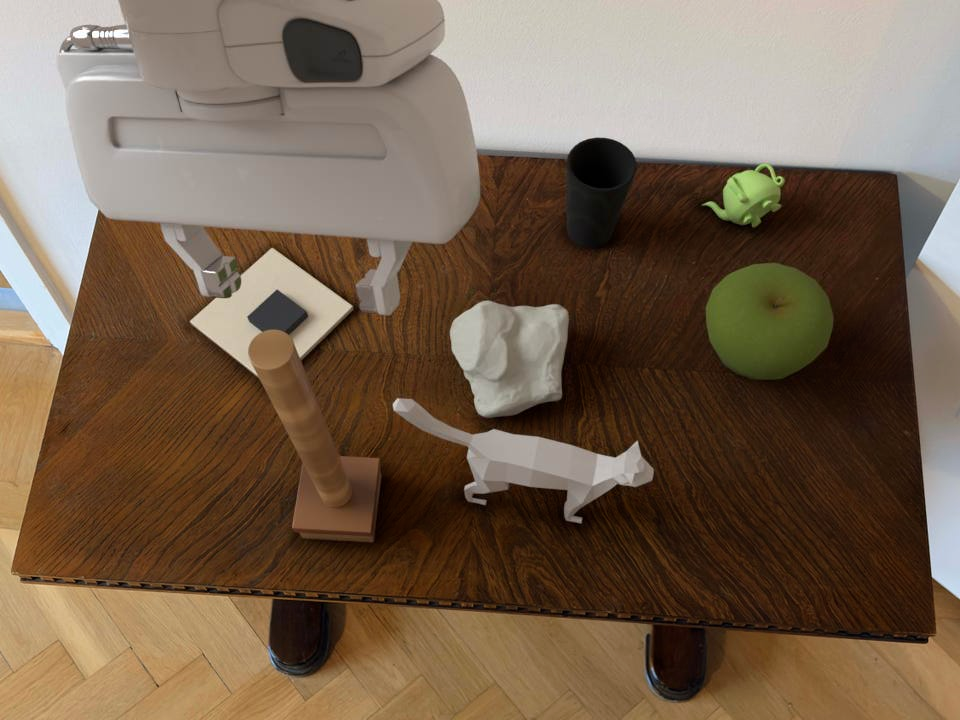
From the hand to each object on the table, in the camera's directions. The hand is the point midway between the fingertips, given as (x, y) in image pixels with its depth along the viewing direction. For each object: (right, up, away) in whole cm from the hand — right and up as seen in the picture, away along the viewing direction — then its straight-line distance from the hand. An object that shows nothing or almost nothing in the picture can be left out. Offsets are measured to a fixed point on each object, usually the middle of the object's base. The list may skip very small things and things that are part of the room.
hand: (299, 300), depth 44 cm
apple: (+35, -2, +35) cm, 49 cm away
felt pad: (-10, +1, +36) cm, 37 cm away
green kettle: (+36, +12, +43) cm, 57 cm away
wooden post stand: (-2, -16, +28) cm, 32 cm away
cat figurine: (+13, -14, +29) cm, 35 cm away
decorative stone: (+13, -5, +34) cm, 37 cm away
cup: (+21, +10, +42) cm, 48 cm away
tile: (-10, +1, +37) cm, 38 cm away
